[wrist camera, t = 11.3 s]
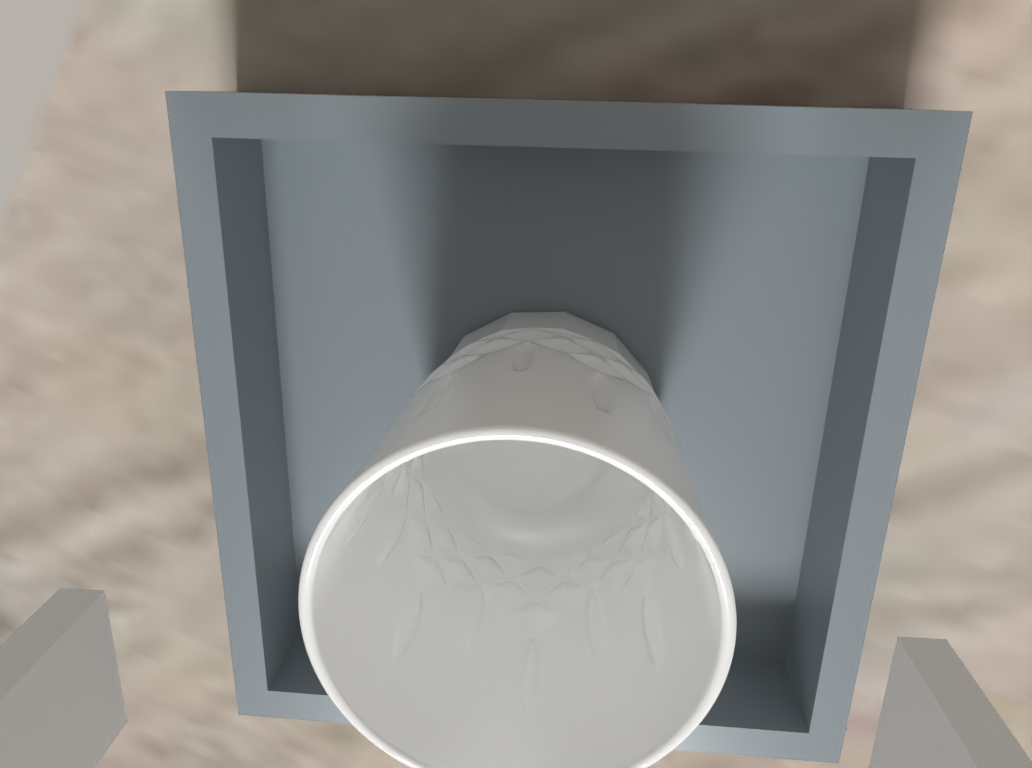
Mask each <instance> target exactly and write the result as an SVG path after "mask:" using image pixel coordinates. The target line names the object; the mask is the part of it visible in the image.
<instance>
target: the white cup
mask: <svg viewBox="0 0 1032 768" xmlns="http://www.w3.org/2000/svg"><path fill="white" fill-rule="evenodd" d="M298 607H299V620H300V627H301V632H302V637H303V641H304V644H305V648H306V651H307V654H308V657H309V659H310V662H311V664H312V666H313V669H314V671H315V673H316V675H317V677H318V679H319V681H320V683H321V684H322V686H323V688H324V689H325V691H326V692H327V694H328V695H329V697H330V698H331V700H332V701H333V703H334V704H335V705H336V707H337V708H338V709H339V710H340V712H341V713H342V714H343V715H344V716H345V717H346V718H347V720H348V721H349V722H350V723H351V724H352V725H353V726H354V727H355V728H356V729H357V730H358V731H359V732H360V733H362V734H363V735H364V736H365V737H366V738H367V739H368V740H370V741H371V742H372V743H373V744H375V745H376V746H377V747H379V748H380V749H381V750H383V751H384V752H385V753H387V754H388V755H390V756H391V757H393V758H395V759H396V760H398V761H400V762H401V763H403V764H405V765H407V766H408V767H410V768H647V767H648V766H650V765H652V764H653V763H655V762H657V761H658V760H660V759H661V758H663V757H664V756H665V755H667V754H668V753H669V752H671V751H672V750H673V749H674V748H676V747H677V746H678V745H679V744H680V743H681V742H683V741H684V740H685V739H686V738H687V737H688V736H689V735H690V734H691V733H692V732H693V731H694V730H695V728H696V727H697V726H698V725H699V724H700V723H701V721H702V720H703V719H704V717H705V716H706V715H707V713H708V712H709V711H710V709H711V707H712V706H713V704H714V703H715V701H716V699H717V697H718V695H719V694H720V692H721V689H722V687H723V685H724V683H725V680H726V678H727V675H728V672H729V669H730V666H731V662H732V658H733V654H734V648H735V641H736V629H737V615H736V604H735V597H734V591H733V586H732V582H731V578H730V575H729V572H728V569H727V566H726V563H725V561H724V558H723V555H722V553H721V550H720V548H719V545H718V543H717V540H716V537H715V535H714V532H713V530H712V527H711V524H710V522H709V519H708V516H707V514H706V511H705V508H704V506H703V503H702V500H701V497H700V495H699V492H698V489H697V487H696V484H695V481H694V479H693V476H692V473H691V470H690V468H689V465H688V463H687V460H686V458H685V455H684V453H683V450H682V448H681V446H680V443H679V441H678V439H677V437H676V435H675V433H674V430H673V428H672V425H671V423H670V420H669V418H668V416H667V413H666V411H665V410H664V408H663V406H662V404H661V403H660V401H659V399H658V397H657V396H656V394H655V392H654V390H653V387H652V384H651V381H650V378H649V375H648V373H647V372H646V370H645V369H644V368H643V367H642V366H641V364H640V363H639V362H638V361H637V360H636V359H635V357H634V356H633V355H632V354H631V353H630V351H629V350H628V349H627V348H626V347H625V346H624V344H623V343H622V342H621V341H620V340H619V338H618V337H617V336H616V335H615V334H614V333H613V332H610V331H608V330H606V329H604V328H601V327H599V326H597V325H595V324H592V323H590V322H588V321H586V320H583V319H581V318H579V317H577V316H574V315H572V314H570V313H568V312H565V311H558V312H511V313H509V314H507V315H505V316H503V317H501V318H499V319H497V320H495V321H493V322H491V323H489V324H487V325H485V326H483V327H481V328H479V329H477V330H475V331H473V332H471V333H469V334H467V335H465V336H464V337H463V338H462V339H461V341H460V342H459V343H458V345H457V346H456V348H455V349H454V350H453V352H452V353H451V354H450V356H449V357H448V358H447V360H446V361H445V362H444V363H443V364H441V365H440V366H439V367H438V368H437V369H435V370H434V371H433V372H432V373H431V374H430V375H429V376H428V377H427V378H426V379H425V381H424V382H423V384H422V385H421V386H420V387H419V388H418V389H417V391H416V392H415V393H414V394H413V395H412V396H411V397H410V398H409V399H408V401H407V403H406V404H405V405H404V407H403V408H402V410H401V411H400V412H399V414H398V415H397V416H396V418H395V419H394V421H393V422H392V423H391V425H390V426H389V427H388V429H387V430H386V431H385V432H384V434H383V435H382V436H381V438H380V439H379V440H378V442H377V443H376V444H375V446H374V447H373V449H372V450H371V451H370V453H369V454H368V455H367V457H366V458H365V460H364V461H363V462H362V464H361V465H360V466H359V468H358V469H357V470H356V472H355V473H354V474H353V476H352V477H351V478H350V480H349V481H348V482H347V484H346V485H345V486H344V488H343V489H342V490H341V492H340V493H339V494H338V496H337V497H336V498H335V500H334V501H333V502H332V504H331V505H330V506H329V508H328V509H327V511H326V512H325V514H324V515H323V517H322V518H321V520H320V522H319V524H318V525H317V527H316V529H315V531H314V533H313V535H312V538H311V540H310V542H309V545H308V548H307V551H306V554H305V557H304V561H303V565H302V569H301V575H300V582H299V594H298Z"/></svg>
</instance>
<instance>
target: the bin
mask: <svg viewBox="0 0 1032 768" xmlns="http://www.w3.org/2000/svg"><path fill="white" fill-rule="evenodd" d="M165 94H166V102H167V111H168V119H169V128H170V136H171V145H172V153H173V162H174V170H175V179H176V187H177V196H178V204H179V213H180V221H181V230H182V238H183V247H184V255H185V264H186V272H187V281H188V289H189V298H190V306H191V315H192V323H193V332H194V340H195V349H196V357H197V366H198V374H199V383H200V391H201V400H202V408H203V417H204V425H205V434H206V442H207V451H208V459H209V468H210V476H211V485H212V493H213V502H214V510H215V519H216V527H217V536H218V544H219V553H220V561H221V570H222V578H223V587H224V595H225V604H226V612H227V621H228V629H229V638H230V646H231V655H232V663H233V672H234V680H235V689H236V697H237V706H238V714H239V715H249V716H262V717H274V718H286V719H299V720H311V721H323V722H336V723H348V724H351V723H350V722H349V721H348V720H347V718H346V717H345V716H344V715H343V714H342V713H341V712H340V710H339V709H338V708H337V707H336V705H335V704H334V703H333V701H332V700H331V698H330V697H329V695H328V694H327V692H326V691H325V689H324V688H323V686H322V684H321V683H320V681H319V679H318V677H317V675H316V673H315V671H314V669H313V666H312V664H311V662H310V659H309V657H308V654H307V651H306V648H305V644H304V641H303V637H302V632H301V627H300V620H299V607H298V594H299V582H300V575H301V569H302V565H303V561H304V557H305V554H306V551H307V548H308V545H309V542H310V540H311V538H312V535H313V533H314V531H315V529H316V527H317V525H318V524H319V522H320V520H321V518H322V517H323V515H324V514H325V512H326V511H327V509H328V508H329V506H330V505H331V504H332V502H333V501H334V500H335V498H336V497H337V496H338V494H339V493H340V492H341V490H342V489H343V488H344V486H345V485H346V484H347V482H348V481H349V480H350V478H351V477H352V476H353V474H354V473H355V472H356V470H357V469H358V468H359V466H360V465H361V464H362V462H363V461H364V460H365V458H366V457H367V455H368V454H369V453H370V451H371V450H372V449H373V447H374V446H375V444H376V443H377V442H378V440H379V439H380V438H381V436H382V435H383V434H384V432H385V431H386V430H387V429H388V427H389V426H390V425H391V423H392V422H393V421H394V419H395V418H396V416H397V415H398V414H399V412H400V411H401V410H402V408H403V407H404V405H405V404H406V403H407V401H408V399H409V398H410V397H411V396H412V395H413V394H414V393H415V392H416V391H417V389H418V388H419V387H420V386H421V385H422V384H423V382H424V381H425V379H426V378H427V377H428V376H429V375H430V374H431V373H432V372H433V371H434V370H435V369H437V368H438V367H439V366H440V365H441V364H443V363H444V362H445V361H446V360H447V358H448V357H449V356H450V354H451V353H452V352H453V350H454V349H455V348H456V346H457V345H458V343H459V342H460V341H461V339H462V338H463V337H464V336H465V335H467V334H469V333H471V332H473V331H475V330H477V329H479V328H481V327H483V326H485V325H487V324H489V323H491V322H493V321H495V320H497V319H499V318H501V317H503V316H505V315H507V314H509V313H511V312H558V311H565V312H568V313H570V314H572V315H574V316H577V317H579V318H581V319H583V320H586V321H588V322H590V323H592V324H595V325H597V326H599V327H601V328H604V329H606V330H608V331H610V332H613V333H614V334H615V335H616V336H617V337H618V338H619V340H620V341H621V342H622V343H623V344H624V346H625V347H626V348H627V349H628V350H629V351H630V353H631V354H632V355H633V356H634V357H635V359H636V360H637V361H638V362H639V363H640V364H641V366H642V367H643V368H644V369H645V370H646V372H647V373H648V375H649V378H650V381H651V384H652V387H653V390H654V392H655V394H656V396H657V397H658V399H659V401H660V403H661V404H662V406H663V408H664V410H665V411H666V413H667V416H668V418H669V420H670V423H671V425H672V428H673V430H674V433H675V435H676V437H677V439H678V441H679V443H680V446H681V448H682V450H683V453H684V455H685V458H686V460H687V463H688V465H689V468H690V470H691V473H692V476H693V479H694V481H695V484H696V487H697V489H698V492H699V495H700V497H701V500H702V503H703V506H704V508H705V511H706V514H707V516H708V519H709V522H710V524H711V527H712V530H713V532H714V535H715V537H716V540H717V543H718V545H719V548H720V550H721V553H722V555H723V558H724V561H725V563H726V566H727V569H728V572H729V575H730V578H731V582H732V586H733V591H734V597H735V604H736V615H737V629H736V641H735V648H734V654H733V658H732V662H731V666H730V669H729V672H728V675H727V678H726V680H725V683H724V685H723V687H722V689H721V692H720V694H719V695H718V697H717V699H716V701H715V703H714V704H713V706H712V707H711V709H710V711H709V712H708V713H707V715H706V716H705V717H704V719H703V720H702V721H701V723H700V724H699V725H698V726H697V727H696V728H695V730H694V731H693V732H692V733H691V734H690V735H689V736H688V737H687V738H686V739H685V740H684V741H683V742H681V743H680V744H679V745H678V746H677V747H676V748H674V749H673V750H681V751H693V752H705V753H718V754H730V755H742V756H755V757H767V758H779V759H792V760H804V761H816V762H829V763H839V760H840V755H841V750H842V745H843V741H844V736H845V731H846V726H847V721H848V716H849V711H850V707H851V702H852V697H853V692H854V687H855V682H856V677H857V672H858V668H859V663H860V658H861V653H862V648H863V643H864V638H865V634H866V629H867V624H868V619H869V614H870V609H871V604H872V600H873V595H874V590H875V585H876V580H877V575H878V570H879V565H880V561H881V556H882V551H883V546H884V541H885V536H886V531H887V527H888V522H889V517H890V512H891V507H892V502H893V497H894V492H895V488H896V483H897V478H898V473H899V468H900V463H901V458H902V454H903V449H904V444H905V439H906V434H907V429H908V424H909V420H910V415H911V410H912V405H913V400H914V395H915V390H916V385H917V381H918V376H919V371H920V366H921V361H922V356H923V351H924V347H925V342H926V337H927V332H928V327H929V322H930V317H931V312H932V308H933V303H934V298H935V293H936V288H937V283H938V278H939V274H940V269H941V264H942V259H943V254H944V249H945V244H946V240H947V235H948V230H949V225H950V220H951V215H952V210H953V205H954V201H955V196H956V191H957V186H958V181H959V176H960V171H961V167H962V162H963V157H964V152H965V147H966V142H967V137H968V133H969V128H970V123H971V118H972V113H973V112H971V111H947V110H924V109H898V108H859V107H819V106H780V105H741V104H701V103H662V102H623V101H583V100H544V99H504V98H465V97H426V96H386V95H347V94H308V93H268V92H218V91H165Z"/></svg>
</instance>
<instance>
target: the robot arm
mask: <svg viewBox="0 0 1032 768" xmlns="http://www.w3.org/2000/svg"><path fill="white" fill-rule="evenodd" d="M126 722H127V719H126V713H125V707H124V702H123V696H122V690H121V684H120V678H119V673H118V667H117V661H116V655H115V650H114V644H113V638H112V632H111V626H110V621H109V615H108V609H107V603H106V597H105V592H104V591H100V590H83V589H65V588H60V589H59V590H58V591H57V592H56V593H55V594H54V595H53V596H52V597H51V598H50V599H49V600H48V601H47V602H46V603H45V604H43V605H42V606H41V607H40V608H39V609H38V610H37V611H36V612H35V613H34V614H33V615H32V616H31V617H30V618H29V619H28V620H27V621H26V622H25V623H24V624H23V625H22V626H21V627H20V628H18V629H17V630H16V631H15V632H14V633H13V634H12V635H11V636H10V637H9V638H8V639H7V640H6V641H5V642H4V643H3V644H2V645H1V646H0V768H94V767H95V766H96V764H97V763H98V761H99V760H100V759H101V757H102V756H103V754H104V753H105V752H106V750H107V749H108V747H109V746H110V744H111V743H112V742H113V740H114V739H115V737H116V736H117V735H118V733H119V732H120V730H121V729H122V728H123V726H124V725H125V723H126ZM869 768H1032V761H1031V760H1030V758H1029V757H1028V756H1027V754H1026V753H1025V751H1024V750H1023V748H1022V747H1021V746H1020V744H1019V743H1018V741H1017V740H1016V738H1015V737H1014V736H1013V734H1012V733H1011V731H1010V730H1009V728H1008V727H1007V726H1006V724H1005V723H1004V721H1003V720H1002V718H1001V717H1000V716H999V714H998V713H997V711H996V710H995V708H994V707H993V706H992V704H991V703H990V701H989V700H988V698H987V697H986V696H985V694H984V693H983V691H982V690H981V688H980V687H979V686H978V684H977V683H976V681H975V680H974V678H973V677H972V676H971V674H970V673H969V671H968V670H967V668H966V667H965V666H964V664H963V663H962V661H961V660H960V658H959V657H958V655H957V654H956V653H955V651H954V650H953V648H952V647H951V645H950V644H949V643H948V641H947V640H946V639H928V638H911V637H897V641H896V646H895V651H894V655H893V660H892V664H891V669H890V673H889V678H888V683H887V687H886V692H885V696H884V701H883V705H882V710H881V715H880V719H879V724H878V728H877V733H876V737H875V742H874V747H873V751H872V756H871V760H870V765H869Z"/></svg>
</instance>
